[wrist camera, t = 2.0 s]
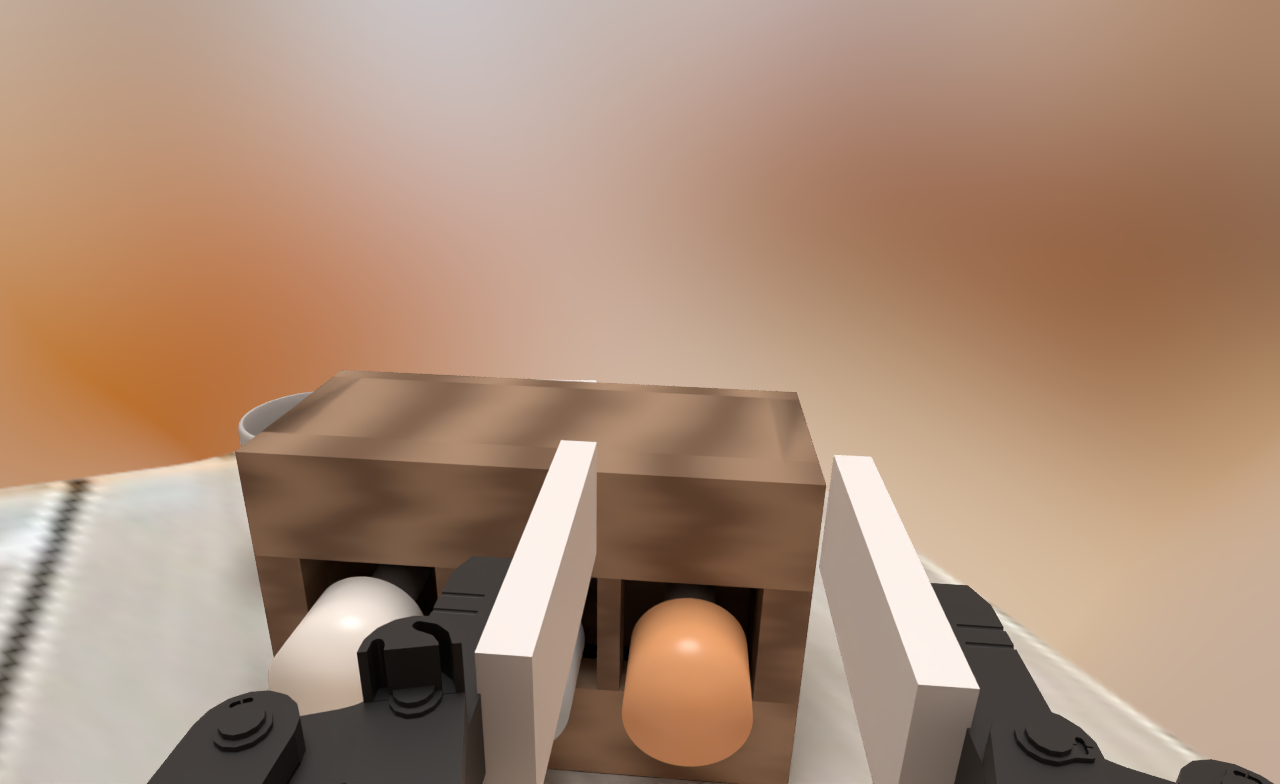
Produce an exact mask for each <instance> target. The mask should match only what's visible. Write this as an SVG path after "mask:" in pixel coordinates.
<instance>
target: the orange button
mask: <svg viewBox="0 0 1280 784" xmlns="http://www.w3.org/2000/svg"><path fill="white" fill-rule="evenodd" d="M622 720H623V725H624V727H625V730H626V732H627V734H628V736H629V737H630V739H631V740H632V741H633V742H634V744H635V745H636V746H637V747H638V748H639V749H641V750H642V751H643V752H645V753H646V754H648V755H649V756H651V757H653V758H655V759H657V760H659V761H662V762H665V763H668V764H672V765H678V766H690V767H693V766H704V765H709V764H713V763H716V762H719V761H721V760H724V759H725V758H727V757H729V756H731V755H732V754H734V753H735V752H736V751H737V750H738V749H739V748H741V747H742V745H743V744H744V743H745V741H746V740H747V738H748V736H749V734H750V732H751V729H752V724H753V710H752V698H751V686H750V674H749V661H748V649H747V641H746V636H745V633H744V631H743V629H742V627H741V625H740V624H739V622H738V621H737V620H736V619H735V617H734V616H733V615H731V614H730V613H729V612H728V611H727V610H725V609H723V608H722V607H720V606H718V605H716V604H715V585H701V584H686V583H670V582H665V594H664V602H662V603H660V604H658V605H656V606H654V607H652V608H651V609H649V610H648V611H647V612H646V613H644V614H643V615H642V617H641V618H640V619H639V620H638V622H637V623H636V625H635V627H634V629H633V632H632V636H631V643H630V651H629V659H628V666H627V674H626V682H625V689H624V697H623V705H622Z"/></svg>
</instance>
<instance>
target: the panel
mask: <svg viewBox="0 0 1280 784" xmlns="http://www.w3.org/2000/svg"><path fill="white" fill-rule="evenodd" d="M561 440H566V441H585V442H597V519H596V557H595V561H594V566H593V570H592V574H591V579H590V583H589V587H588V592H587V596H586V601H585V605H584V609H583V614H582V618H581V624H582V626H583V630H584V635H585V643H591V644H597V659H594V658H582V659H581V663H580V668H579V673H578V677H577V682H576V687H575V692H574V696H573V701H572V706H571V710H570V715H569V719H568V722H567V725H566V727H565V728H564V730H563V731H562V733H561V734H560V735H559V736H558V737H557V738H556V739H555V740H554V741H553V744H552V749H551V753H550V758H549V762H548V766H547V768H548V769H561V770H573V771H585V772H598V773H610V774H623V775H635V776H647V777H660V778H672V779H685V780H697V781H709V782H722V783H734V784H788V780H789V772H790V764H791V756H792V749H793V741H794V733H795V725H796V717H797V709H798V702H799V694H800V686H801V678H802V670H803V663H804V655H805V647H806V639H807V631H808V623H809V616H810V608H811V600H812V592H813V584H814V576H815V569H816V561H817V553H818V545H819V537H820V530H821V522H822V514H823V506H824V498H825V490H826V483H825V480H824V477H823V474H822V471H821V467H820V464H819V461H818V458H817V455H816V452H815V449H814V445H813V443H812V439H811V436H810V433H809V430H808V427H807V424H806V420H805V417H804V414H803V411H802V408H801V405H800V402H799V398H798V395H797V393H796V392H778V391H758V390H737V389H718V388H697V387H675V386H657V385H636V384H616V383H596V382H576V381H555V380H534V379H515V378H494V377H493V378H492V377H474V376H473V377H471V376H453V375H432V374H413V373H393V372H371V371H352V370H341V371H340V372H339V373H338V374H336V375H335V376H334V377H332V378H331V379H330V380H328V381H327V382H326V383H324V384H323V385H322V386H320V387H319V388H318V389H316V390H315V391H314V392H312V393H311V394H310V395H309V396H307V397H306V398H305V399H303V400H302V401H301V402H299V403H298V404H297V405H295V406H294V407H293V408H292V409H290V410H289V411H288V412H286V413H285V414H284V415H282V416H281V417H280V418H279V419H277V420H276V421H275V422H273V423H272V424H271V425H269V426H268V427H267V428H265V429H264V430H263V431H262V432H260V433H259V434H258V435H256V436H255V437H254V438H252V439H251V440H250V441H249V442H247V443H246V444H245V445H243V446H242V447H241V448H239V449H238V450H237V451H235V454H236V459H237V465H238V470H239V475H240V480H241V486H242V491H243V496H244V502H245V507H246V512H247V517H248V523H249V528H250V533H251V539H252V544H253V549H254V555H255V560H256V565H257V570H258V576H259V581H260V586H261V592H262V597H263V602H264V607H265V613H266V618H267V623H268V629H269V634H270V639H271V645H272V650H273V655H274V657H275V655H276V654H277V653H278V651H279V650H280V649H281V648H282V646H283V645H284V644H285V642H286V641H287V640H288V638H289V637H290V636H291V634H292V633H293V632H294V630H295V629H296V628H297V626H298V625H299V624H300V623H301V621H302V620H303V619H304V617H305V616H306V615H307V613H308V612H309V611H310V609H311V608H312V607H313V605H314V604H315V603H316V601H317V600H318V599H319V598H320V596H321V595H322V594H323V592H324V591H325V590H326V589H327V588H328V587H330V586H331V585H332V584H334V583H336V582H337V581H340V580H343V579H346V578H350V577H371V575H372V574H373V573H374V571H375V570H376V568H377V567H378V565H379V564H393V565H409V566H424V567H430V576H429V578H428V580H427V582H426V584H425V586H424V587H423V589H422V591H421V593H420V595H419V596H418V598H417V600H416V604H417V605H418V606H419V608H420V610H421V611H422V614H423V616H429V615H430V613H431V612H433V607H434V606H435V604H436V602H437V600H438V598H439V596H441V594H442V590H443V588H444V586H445V585H446V583H447V581H448V579H449V577H450V575H451V573H452V572H453V571H454V570H455V569H457V568H458V567H459V566H460V565H462V564H463V563H464V562H465V561H467V560H468V559H469V558H470V557H472V556H481V557H497V558H513V557H514V555H515V552H516V550H517V547H518V545H519V542H520V540H521V537H522V535H523V532H524V530H525V527H526V525H527V523H528V520H529V518H530V515H531V513H532V510H533V508H534V505H535V503H536V500H537V498H538V496H539V493H540V491H541V488H542V486H543V483H544V481H545V478H546V476H547V473H548V471H549V468H550V466H551V464H552V461H553V459H554V456H555V454H556V451H557V449H558V446H559V444H560V441H561ZM665 582H670V583H686V584H701V585H715V604H716V605H718V606H720V607H722V608H723V609H725V610H727V611H728V612H729V613H730V614H731V615H733V616H734V617H735V619H736V620H737V621H738V622H739V624H740V625H741V627H742V629H743V631H744V633H745V636H746V641H747V649H748V661H749V674H750V686H751V698H752V710H753V724H752V729H751V732H750V734H749V736H748V738H747V740H746V741H745V743H744V744H743V745H742V747H741V748H739V749H738V750H737V751H736V752H735V753H734V754H732V755H731V756H729V757H727V758H725V759H724V760H721V761H719V762H716V763H713V764H709V765H704V766H693V767H690V766H678V765H672V764H668V763H665V762H662V761H659V760H657V759H655V758H653V757H651V756H649V755H648V754H646V753H645V752H643V751H642V750H641V749H639V748H638V747H637V746H636V745H635V744H634V742H633V741H632V740H631V739H630V737H629V736H628V734H627V732H626V730H625V727H624V725H623V720H622V705H623V697H624V689H625V682H626V674H627V666H628V661H623V646H630V643H631V636H632V632H633V629H634V627H635V625H636V623H637V622H638V620H639V619H640V618H641V617H642V615H643V614H644V613H646V612H647V611H648V610H649V609H651V608H652V607H654V606H656V605H658V604H660V603H662V602H664V594H665Z"/></svg>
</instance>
